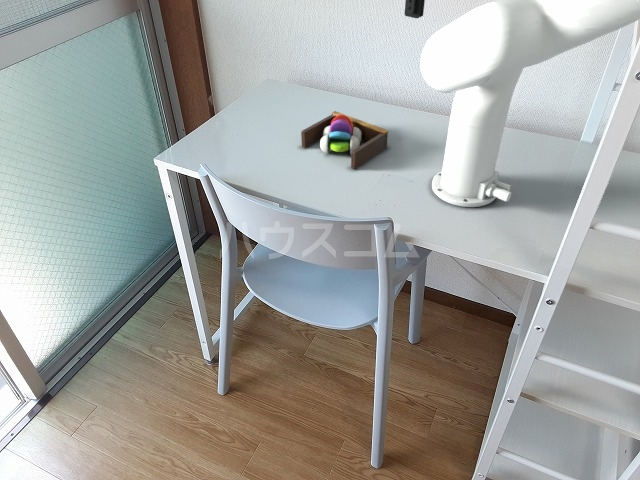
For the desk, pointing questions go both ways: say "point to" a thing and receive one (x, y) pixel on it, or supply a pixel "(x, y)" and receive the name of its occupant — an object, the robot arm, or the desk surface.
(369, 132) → the garage
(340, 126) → the rainbow white-wheeled buggy
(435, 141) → the desk surface
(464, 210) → the desk surface
